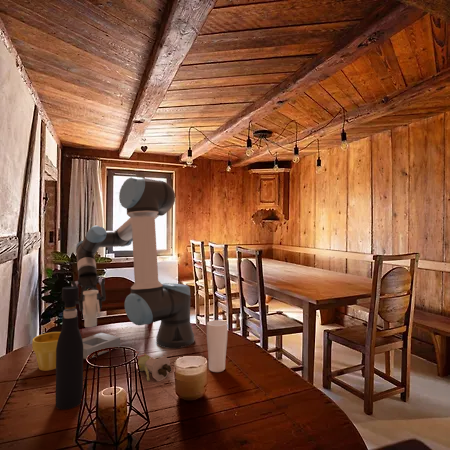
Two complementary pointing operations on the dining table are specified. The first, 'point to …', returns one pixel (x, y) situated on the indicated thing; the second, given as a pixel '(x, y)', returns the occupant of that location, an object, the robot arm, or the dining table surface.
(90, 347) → the jig
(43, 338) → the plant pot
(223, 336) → the drinking glass
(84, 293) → the cylinder
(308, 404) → the dining table surface
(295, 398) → the dining table surface
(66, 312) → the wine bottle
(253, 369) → the dining table surface
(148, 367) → the figurine
